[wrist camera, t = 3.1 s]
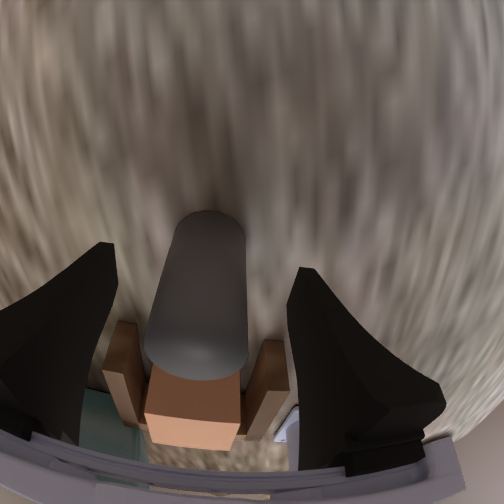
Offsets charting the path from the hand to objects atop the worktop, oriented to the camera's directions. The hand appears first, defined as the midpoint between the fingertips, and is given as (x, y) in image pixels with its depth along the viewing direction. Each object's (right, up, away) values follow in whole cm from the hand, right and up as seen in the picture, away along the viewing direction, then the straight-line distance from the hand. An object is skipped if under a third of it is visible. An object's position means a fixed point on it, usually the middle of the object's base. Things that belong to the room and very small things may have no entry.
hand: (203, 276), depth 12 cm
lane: (-2, -7, +8) cm, 10 cm away
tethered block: (-1, -3, +5) cm, 6 cm away
